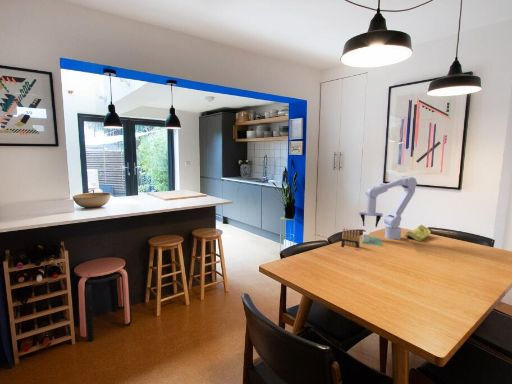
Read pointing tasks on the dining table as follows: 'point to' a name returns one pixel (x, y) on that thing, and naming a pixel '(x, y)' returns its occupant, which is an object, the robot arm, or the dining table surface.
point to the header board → (373, 241)
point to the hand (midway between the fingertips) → (369, 226)
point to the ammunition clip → (350, 238)
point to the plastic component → (419, 233)
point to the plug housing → (365, 236)
